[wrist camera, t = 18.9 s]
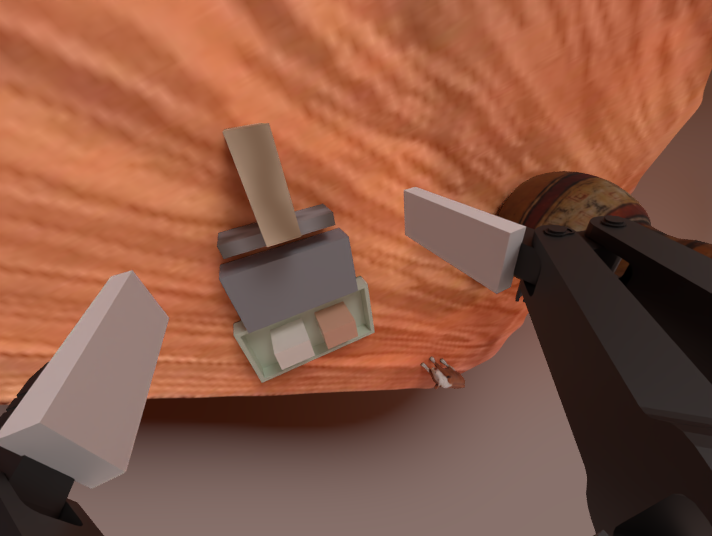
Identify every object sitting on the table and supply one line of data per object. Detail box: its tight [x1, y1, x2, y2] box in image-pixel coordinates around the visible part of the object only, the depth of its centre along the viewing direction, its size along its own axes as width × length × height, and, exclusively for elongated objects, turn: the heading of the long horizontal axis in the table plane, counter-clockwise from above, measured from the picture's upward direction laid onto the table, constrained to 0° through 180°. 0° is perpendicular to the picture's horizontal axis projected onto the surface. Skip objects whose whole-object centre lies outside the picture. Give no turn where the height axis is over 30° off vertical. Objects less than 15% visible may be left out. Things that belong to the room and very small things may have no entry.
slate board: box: [219, 228, 358, 333], centre depth 34 cm, size 16×9×4 cm, turn 99°
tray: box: [233, 276, 374, 383], centre depth 40 cm, size 20×11×2 cm, turn 99°
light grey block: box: [270, 318, 315, 370], centre depth 38 cm, size 5×5×4 cm
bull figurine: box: [421, 357, 465, 389], centre depth 60 cm, size 4×13×8 cm, turn 49°
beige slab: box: [217, 123, 335, 259], centre depth 26 cm, size 13×12×8 cm
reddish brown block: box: [314, 301, 358, 349], centre depth 40 cm, size 5×5×4 cm
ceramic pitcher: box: [498, 171, 712, 279], centre depth 39 cm, size 20×20×30 cm
